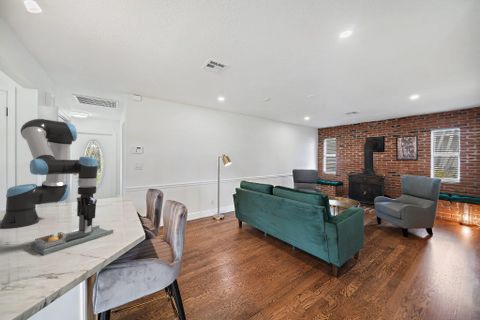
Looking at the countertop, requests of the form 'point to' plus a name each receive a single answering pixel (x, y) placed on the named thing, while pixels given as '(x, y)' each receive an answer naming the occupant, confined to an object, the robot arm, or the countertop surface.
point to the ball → (53, 238)
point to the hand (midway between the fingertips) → (85, 230)
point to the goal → (42, 242)
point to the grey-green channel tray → (74, 240)
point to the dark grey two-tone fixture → (76, 233)
